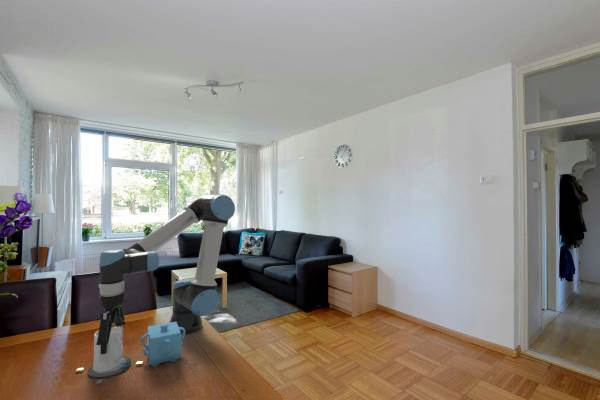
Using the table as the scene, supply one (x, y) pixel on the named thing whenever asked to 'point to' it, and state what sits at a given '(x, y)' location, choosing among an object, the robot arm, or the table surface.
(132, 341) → the table surface
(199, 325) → the robot arm
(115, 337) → the mug
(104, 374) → the socket pad
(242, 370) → the table surface
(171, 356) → the teapot
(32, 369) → the table surface
